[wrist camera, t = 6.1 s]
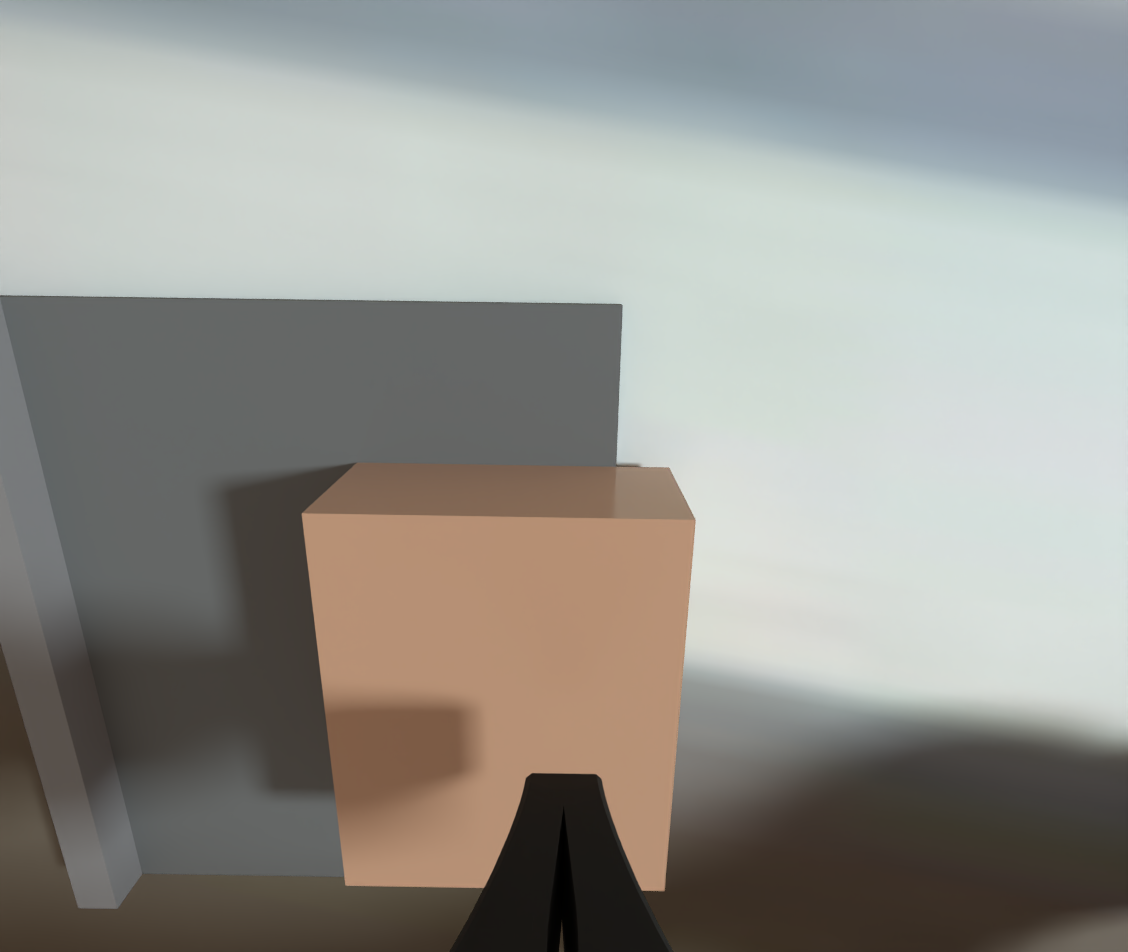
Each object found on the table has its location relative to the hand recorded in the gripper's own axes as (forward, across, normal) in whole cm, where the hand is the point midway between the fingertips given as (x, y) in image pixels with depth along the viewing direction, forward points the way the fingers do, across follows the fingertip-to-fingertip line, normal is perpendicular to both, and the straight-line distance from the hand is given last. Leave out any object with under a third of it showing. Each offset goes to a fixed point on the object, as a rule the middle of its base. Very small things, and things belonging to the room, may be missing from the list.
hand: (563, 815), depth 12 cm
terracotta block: (+4, -3, 0) cm, 5 cm away
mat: (+7, +7, 0) cm, 10 cm away
